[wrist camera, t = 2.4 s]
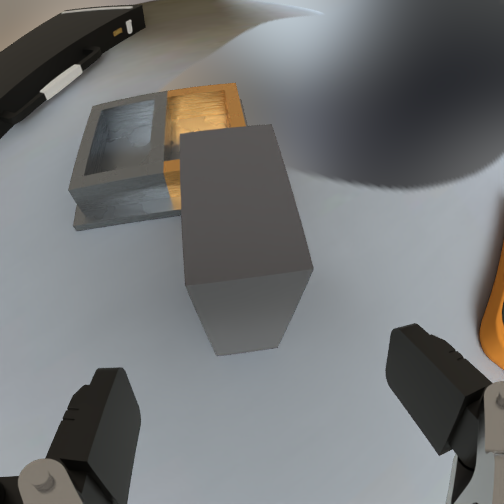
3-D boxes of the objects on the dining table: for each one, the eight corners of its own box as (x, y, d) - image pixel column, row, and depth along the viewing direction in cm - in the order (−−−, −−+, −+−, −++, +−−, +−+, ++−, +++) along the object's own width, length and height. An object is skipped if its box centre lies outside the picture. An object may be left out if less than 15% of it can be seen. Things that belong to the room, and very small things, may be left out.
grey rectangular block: (277, 347, 21) (313, 268, 10) (216, 356, 20) (185, 285, 10) (260, 254, 24) (271, 124, 13) (205, 261, 24) (179, 133, 13)
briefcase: (-83, 165, 31) (-44, 220, 26) (-97, 146, 26) (-69, 192, 21) (69, 29, 51) (166, 30, 45) (64, 9, 46) (163, 3, 40)
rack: (263, 205, 26) (266, 173, 23) (76, 231, 25) (57, 205, 21) (241, 104, 33) (241, 76, 29) (99, 126, 31) (89, 100, 28)
